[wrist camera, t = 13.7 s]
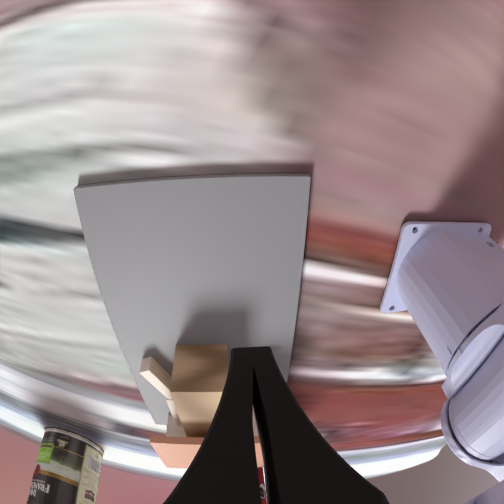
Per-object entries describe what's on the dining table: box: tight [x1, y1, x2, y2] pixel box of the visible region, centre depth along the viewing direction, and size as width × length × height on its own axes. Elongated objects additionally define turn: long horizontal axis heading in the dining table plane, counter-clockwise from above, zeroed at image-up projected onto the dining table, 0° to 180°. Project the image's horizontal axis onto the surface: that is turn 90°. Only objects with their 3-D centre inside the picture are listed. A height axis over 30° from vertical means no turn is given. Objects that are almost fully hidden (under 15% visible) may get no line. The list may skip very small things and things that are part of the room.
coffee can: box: [27, 428, 104, 504], centre depth 30 cm, size 10×10×14 cm
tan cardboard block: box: [170, 344, 229, 438], centre depth 24 cm, size 4×10×4 cm, turn 0°
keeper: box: [74, 173, 311, 468], centre depth 21 cm, size 14×27×7 cm, turn 0°
